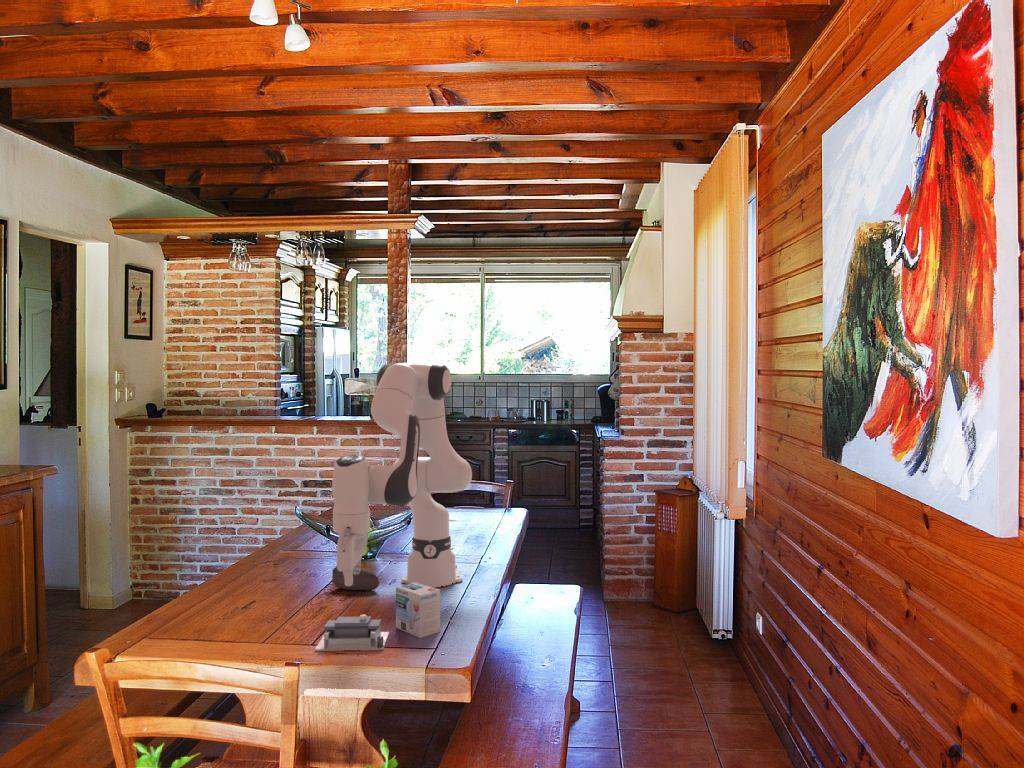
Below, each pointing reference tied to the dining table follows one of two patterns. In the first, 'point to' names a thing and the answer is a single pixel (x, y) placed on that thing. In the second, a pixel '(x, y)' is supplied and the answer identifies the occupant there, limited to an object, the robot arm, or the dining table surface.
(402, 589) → the light bulb box
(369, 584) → the perforated stone tool
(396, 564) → the dining table surface
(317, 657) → the dining table surface
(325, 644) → the chassis
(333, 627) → the servo
